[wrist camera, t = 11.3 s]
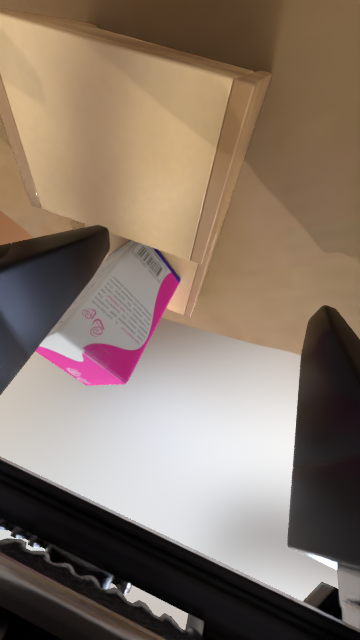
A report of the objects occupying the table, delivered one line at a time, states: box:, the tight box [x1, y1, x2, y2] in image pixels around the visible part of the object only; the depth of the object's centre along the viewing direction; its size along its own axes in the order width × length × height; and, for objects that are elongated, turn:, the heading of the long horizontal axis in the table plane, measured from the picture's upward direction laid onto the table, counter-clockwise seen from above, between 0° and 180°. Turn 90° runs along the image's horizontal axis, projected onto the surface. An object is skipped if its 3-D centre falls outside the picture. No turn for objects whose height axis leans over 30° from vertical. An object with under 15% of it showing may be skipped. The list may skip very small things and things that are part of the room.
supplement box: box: [35, 240, 181, 385], centre depth 19 cm, size 6×6×12 cm
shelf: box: [0, 8, 271, 317], centre depth 19 cm, size 12×19×8 cm, turn 170°
